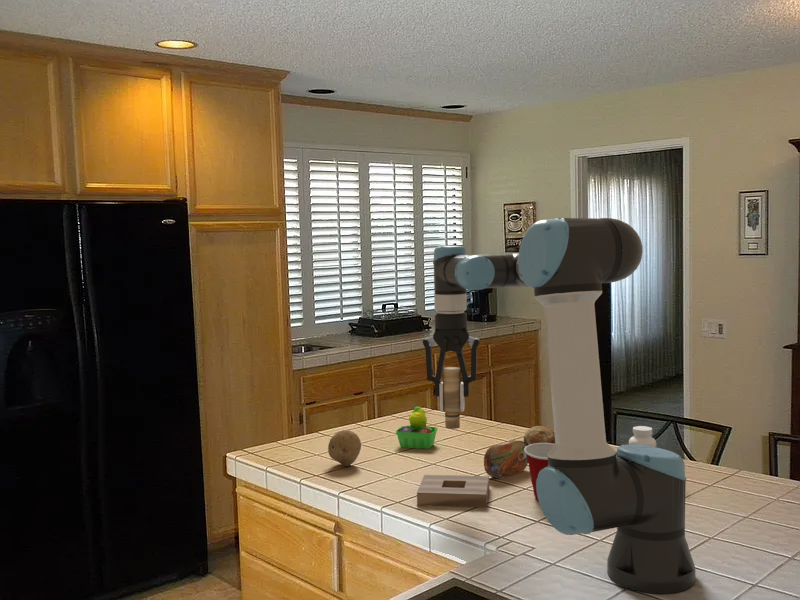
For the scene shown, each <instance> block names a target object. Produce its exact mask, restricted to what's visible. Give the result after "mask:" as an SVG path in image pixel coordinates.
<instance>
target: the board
mask: <svg viewBox="0 0 800 600" xmlns="http://www.w3.org/2000/svg"><path fill="white" fill-rule="evenodd" d="M489 492H490V476H489V475H457V474H456V475H453V474H424V475H423V477H422V478H421V481H420V484H419V487H418V489H417V491H416V505H417V506H427V505H432V507H433V506H435V507H437V506H438V507H463V508H465V507H467V508H472V507H473V508H487V507H488V498H489Z"/></svg>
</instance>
